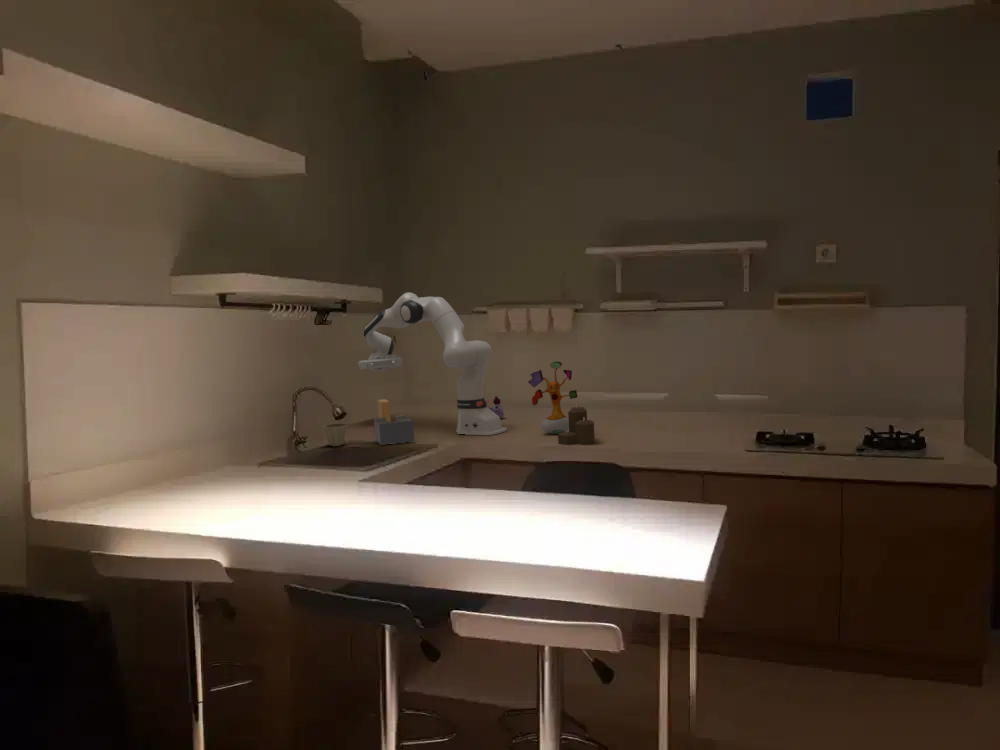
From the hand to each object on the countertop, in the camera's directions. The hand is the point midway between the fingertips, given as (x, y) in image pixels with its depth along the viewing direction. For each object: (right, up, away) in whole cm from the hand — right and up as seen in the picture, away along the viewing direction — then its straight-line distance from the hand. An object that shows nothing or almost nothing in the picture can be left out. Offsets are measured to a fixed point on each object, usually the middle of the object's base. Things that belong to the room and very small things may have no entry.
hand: (383, 364), depth 384 cm
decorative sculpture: (+76, -29, -35) cm, 89 cm away
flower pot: (-14, -34, -36) cm, 52 cm away
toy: (+48, -26, +10) cm, 55 cm away
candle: (+84, -31, -54) cm, 105 cm away
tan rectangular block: (+2, -30, -9) cm, 31 cm away
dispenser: (+10, -33, -34) cm, 48 cm away
